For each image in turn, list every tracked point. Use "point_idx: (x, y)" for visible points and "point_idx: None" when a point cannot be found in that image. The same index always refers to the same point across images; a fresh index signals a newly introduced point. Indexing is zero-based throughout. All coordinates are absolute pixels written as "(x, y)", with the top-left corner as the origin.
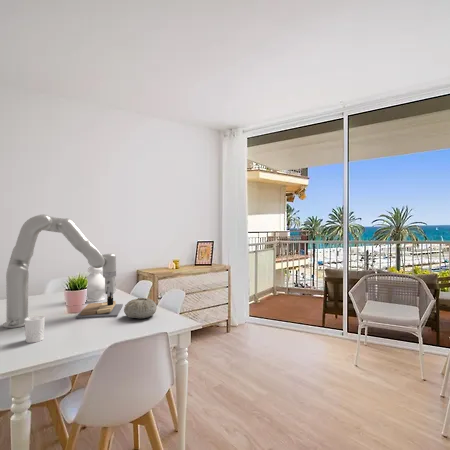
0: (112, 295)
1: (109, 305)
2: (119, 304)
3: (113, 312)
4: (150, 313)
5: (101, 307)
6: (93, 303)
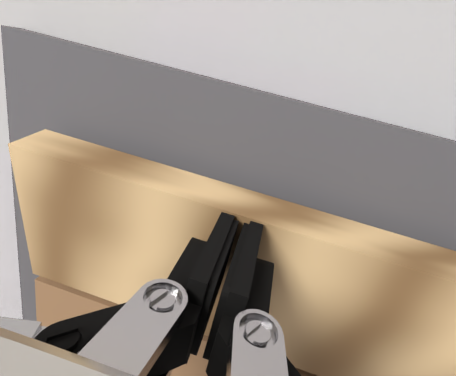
0: (170, 333)
1: None
2: (25, 74)
3: (437, 211)
4: None
5: (286, 344)
6: None
